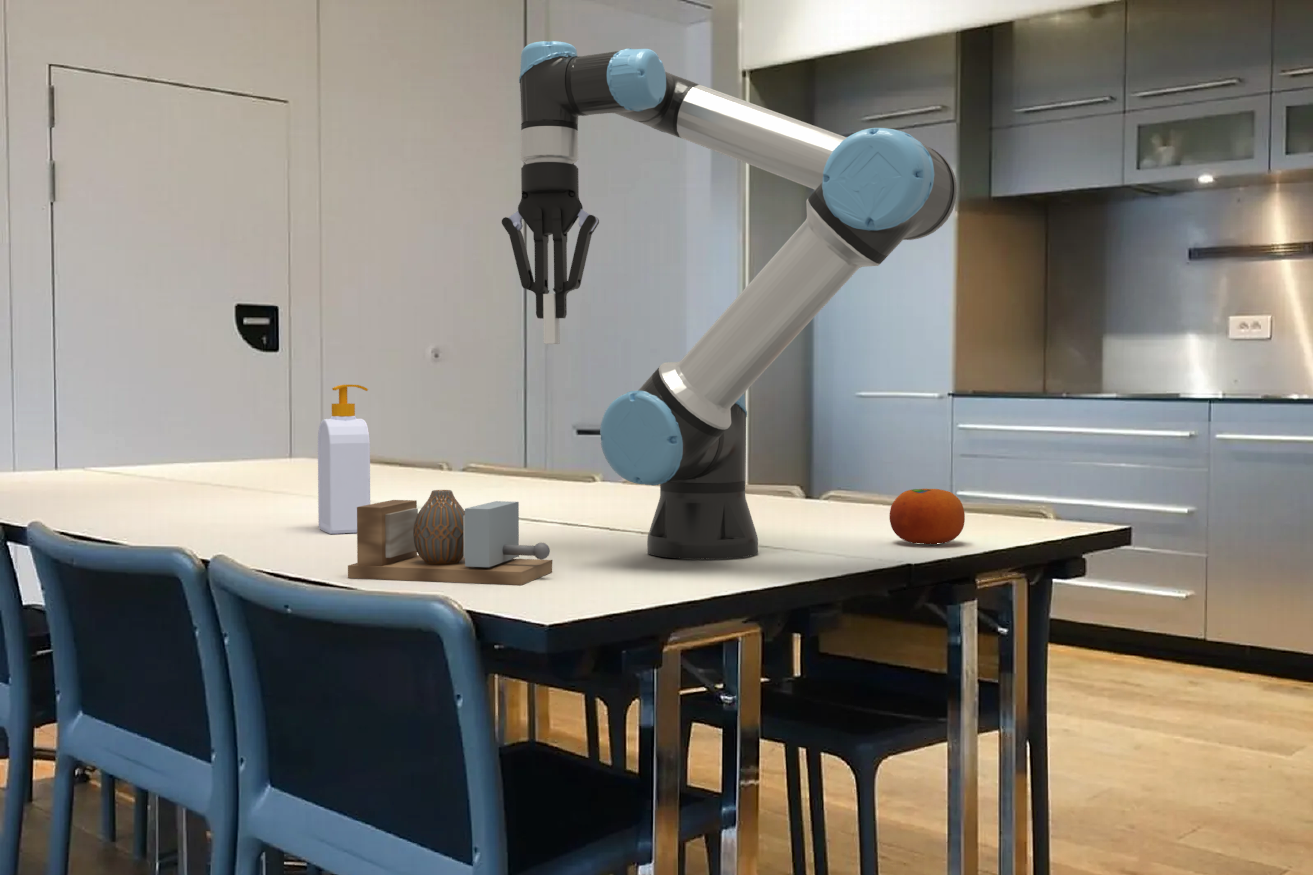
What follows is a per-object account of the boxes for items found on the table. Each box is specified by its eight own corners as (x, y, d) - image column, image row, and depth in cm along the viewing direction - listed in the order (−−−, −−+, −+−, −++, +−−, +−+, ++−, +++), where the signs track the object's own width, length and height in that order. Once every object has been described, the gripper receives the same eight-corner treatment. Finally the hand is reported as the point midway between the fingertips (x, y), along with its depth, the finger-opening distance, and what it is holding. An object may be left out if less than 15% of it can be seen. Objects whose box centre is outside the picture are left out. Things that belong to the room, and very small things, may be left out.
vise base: (552, 572, 169) (552, 503, 169) (521, 585, 158) (521, 511, 158) (388, 565, 175) (387, 499, 174) (347, 577, 164) (347, 507, 164)
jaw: (562, 558, 168) (562, 502, 168) (535, 569, 159) (535, 510, 158) (491, 555, 171) (491, 501, 170) (460, 566, 161) (460, 508, 161)
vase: (416, 558, 170) (415, 488, 170) (472, 558, 171) (471, 488, 170) (410, 566, 163) (410, 493, 163) (469, 565, 164) (469, 492, 163)
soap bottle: (375, 532, 212) (374, 384, 211) (330, 534, 209) (329, 384, 208) (361, 527, 220) (360, 384, 219) (318, 529, 217) (316, 384, 216)
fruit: (940, 539, 205) (941, 485, 205) (977, 547, 195) (978, 491, 195) (876, 541, 202) (877, 487, 202) (911, 549, 192) (911, 492, 192)
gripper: (603, 166, 183) (605, 343, 184) (509, 170, 185) (511, 345, 186) (592, 157, 176) (594, 342, 177) (493, 161, 178) (496, 343, 179)
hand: (551, 343), depth 181 cm, fingers closed
